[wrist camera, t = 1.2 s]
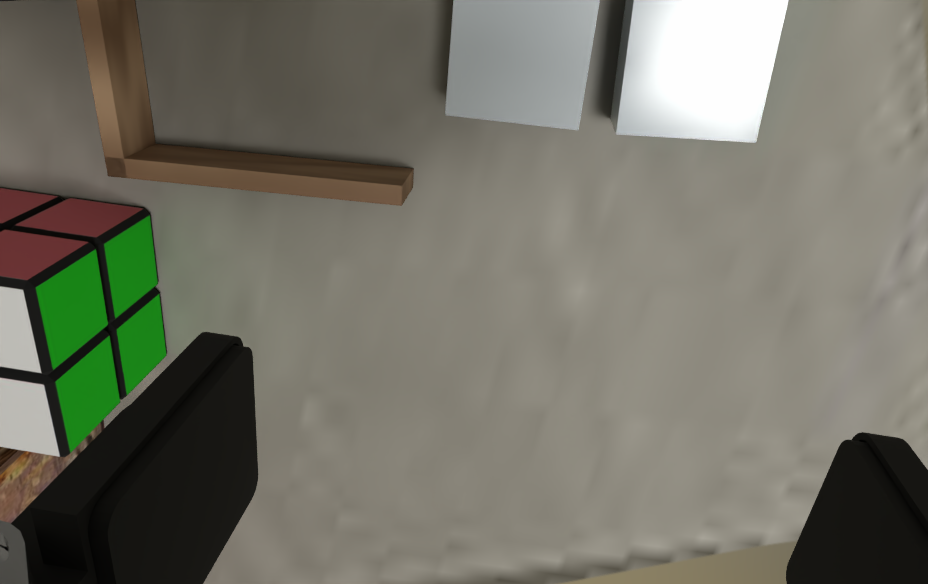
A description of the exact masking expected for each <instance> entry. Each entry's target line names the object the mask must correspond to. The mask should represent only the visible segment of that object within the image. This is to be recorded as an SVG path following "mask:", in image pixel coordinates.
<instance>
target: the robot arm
mask: <svg viewBox="0 0 928 584" xmlns="http://www.w3.org/2000/svg"><path fill="white" fill-rule="evenodd" d="M257 481H258V461H257V440H256V418H255V397H254V375H253V356H252V351H251V349H250V348H249V347H243V343H242V341H241V339H240V338H239V337H236V336H229V335H223V334H216V333H210V332H203V333H201V334H200V335H199V336H198V337H197V338H196V339H195V340H194V341H193V342H192V343H191V344H190V345H189V346H188V347H187V348H186V349H185V350H184V351H183V352H182V353H181V354H180V355H179V356H178V357H177V358H176V359H175V360H174V361H173V362H172V363H171V364H170V365H169V366H168V367H167V368H166V369H165V370H164V371H163V372H162V373H161V374H160V375H159V376H158V377H157V378H156V379H155V380H154V381H153V382H152V383H151V384H150V385H149V386H148V387H147V388H146V389H145V390H144V392H143V393H142V394H141V395H140V396H139V397H138V398H137V399H136V400H135V401H134V402H133V403H132V404H131V405H129V406H128V407H126V408H125V409H124V410H122V411H121V412H120V413H119V414H118V415H117V416H116V417H115V418H114V419H113V421H112V422H111V423H110V424H109V425H108V426H107V427H106V428H105V429H104V430H103V431H102V432H101V433H100V434H99V435H98V436H97V437H96V438H95V439H94V440H93V441H92V442H91V443H90V444H89V445H88V446H87V447H86V448H85V449H84V450H83V451H82V452H81V453H80V454H79V455H78V456H77V457H76V458H75V459H74V460H73V461H72V462H71V463H70V464H69V465H68V466H67V467H66V468H65V469H64V470H63V471H62V472H61V473H60V474H59V475H58V476H57V477H56V478H55V479H54V480H53V481H52V482H51V483H50V484H49V485H48V486H47V487H46V488H45V489H44V490H43V491H42V492H41V493H40V494H39V495H38V496H37V497H36V498H35V499H34V500H33V501H32V502H31V503H30V504H29V505H28V506H27V507H26V508H25V510H24V511H23V512H22V513H21V514H20V515H19V516H18V517H17V518H16V519H15V520H14V521H13V522H12V523H11V524H10V523H9V522H5V521H1V520H0V584H203V583H204V581H205V579H206V578H207V576H208V574H209V572H210V571H211V569H212V567H213V565H214V564H215V562H216V560H217V558H218V557H219V555H220V553H221V552H222V550H223V548H224V546H225V545H226V543H227V541H228V539H229V538H230V536H231V534H232V532H233V531H234V529H235V527H236V526H237V524H238V522H239V520H240V519H241V517H242V515H243V513H244V512H245V510H246V508H247V506H248V505H249V503H250V501H251V500H252V497H253V495H254V493H255V490H256V486H257ZM786 581H787V584H928V470H927V469H926V467H925V466H924V465H923V463H922V462H921V461H920V459H919V458H918V457H917V455H916V454H915V452H914V451H913V450H912V448H911V447H910V446H909V444H908V443H907V442H906V441H904V440H903V439H900V438H896V437H889V436H883V435H876V434H870V433H863V432H862V433H858V434H857V435H855V436H854V437H853V439H852V440H844V441H843V442H842V443H841V445H840V446H839V448H838V450H837V453H836V455H835V457H834V459H833V462H832V464H831V466H830V469H829V471H828V473H827V475H826V478H825V480H824V482H823V485H822V487H821V489H820V491H819V494H818V496H817V498H816V501H815V503H814V505H813V507H812V510H811V512H810V514H809V517H808V519H807V521H806V523H805V526H804V528H803V530H802V533H801V535H800V537H799V539H798V542H797V544H796V546H795V549H794V551H793V553H792V555H791V558H790V560H789V562H788V566H787V571H786Z"/></svg>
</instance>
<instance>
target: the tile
mask: <svg viewBox="0 0 928 584" xmlns="http://www.w3.org/2000/svg"><path fill="white" fill-rule="evenodd" d="M599 2H600V0H454V1H453V14H452V28H451V42H450V55H449V69H448V82H447V96H446V109H445V115H448V116H457V117H466V118H475V119H483V120H492V121H501V122H510V123H518V124H527V125H536V126H545V127H554V128H562V129H571V130H579V124H580V118H581V112H582V106H583V99H584V93H585V87H586V81H587V75H588V69H589V63H590V57H591V51H592V45H593V39H594V33H595V27H596V21H597V14H598V8H599Z"/></svg>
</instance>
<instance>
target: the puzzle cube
mask: <svg viewBox="0 0 928 584" xmlns="http://www.w3.org/2000/svg"><path fill="white" fill-rule="evenodd" d="M157 284H158V280H157V271H156V262H155V254H154V245H153V237H152V228H151V219H150V214H149V213H148V212H147V211H146V210H145V209H144V208H137V207H130V206H123V205H116V204H109V203H102V202H95V201H88V200H81V199H74V198H68V199H66V200H63V199H61V198H60V197H59V196H53V195H46V194H39V193H32V192H25V191H18V190H11V189H3V188H0V447H5V448H11V449H17V450H23V451H29V452H35V453H41V454H46V455H52V456H58V457H66V456H68V455H69V454H70V453H71V452H72V451H73V450H74V449H75V448H76V447H77V446H78V445H79V444H80V443H81V442H82V441H83V440H84V439H85V438H86V437H87V436H88V435H89V434H90V433H91V432H92V431H93V430H94V429H95V428H96V426H97V425H98V424H99V423H100V422H101V421H102V420H103V419H104V418H105V417H106V416H107V415H108V414H109V413H110V412H111V411H112V410H113V409H114V408H115V407H116V406H117V405H118V404H119V403H120V399H123V398H125V397H126V396H127V395H128V394H129V393H130V392H131V391H132V390H133V389H134V388H135V387H136V386H137V385H138V384H139V383H140V382H141V381H142V380H143V379H144V378H145V377H146V376H147V375H148V374H149V373H150V372H151V371H152V370H153V369H154V368H155V367H156V366H157V365H158V364H159V363H160V362H161V360H162V359H163V358H164V357H165V356H166V347H165V338H164V330H163V321H162V312H161V304H160V295H159V292H158V291H157V290H156V289H154V287H155V286H156V285H157Z"/></svg>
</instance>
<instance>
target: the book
mask: <svg viewBox="0 0 928 584" xmlns="http://www.w3.org/2000/svg"><path fill="white" fill-rule="evenodd" d="M103 430H104V420H102V421H101V422H100V423H99V424H98V425H97V426H96V428H95V429H94V430H93V431H92V432H91V433H90V434H89V435H88V436H87V437H86V438H85V439H84V440H83V441H82V442H81V443H80V444H79V445H78V446H77V447H76V448H75V449H74V450H73V451H72V452H71V453H70V454H69V455H68V456H66V457H58V456H52V455H46V454H41V453H35V452H29V451H23V450H17V449H11V448H5V447H0V520H1V521H5V522H9V523H10V524H11V523H12V522H13V521H14V520H15V519H16V518H17V517H18V516H19V515H20V514H21V513H22V512H23V511H24V510H25V508H26V507H27V506H28V505H29V504H30V503H31V502H32V501H33V500H34V499H35V498H36V497H37V496H38V495H39V494H40V493H41V492H42V491H43V490H44V489H45V488H46V487H47V486H48V485H49V484H50V483H51V482H52V481H53V480H54V479H55V478H56V477H57V476H58V475H59V474H60V473H61V472H62V471H63V470H64V469H65V468H66V467H67V466H68V465H69V464H70V463H71V462H72V461H73V460H74V459H75V458H76V457H77V456H78V455H79V454H80V453H81V452H82V451H83V450H84V449H85V448H86V447H87V446H88V445H89V444H90V443H91V442H92V441H93V440H94V439H95V438H96V437H97V436H98V435H99V434H100V433H101V432H102V431H103Z"/></svg>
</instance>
